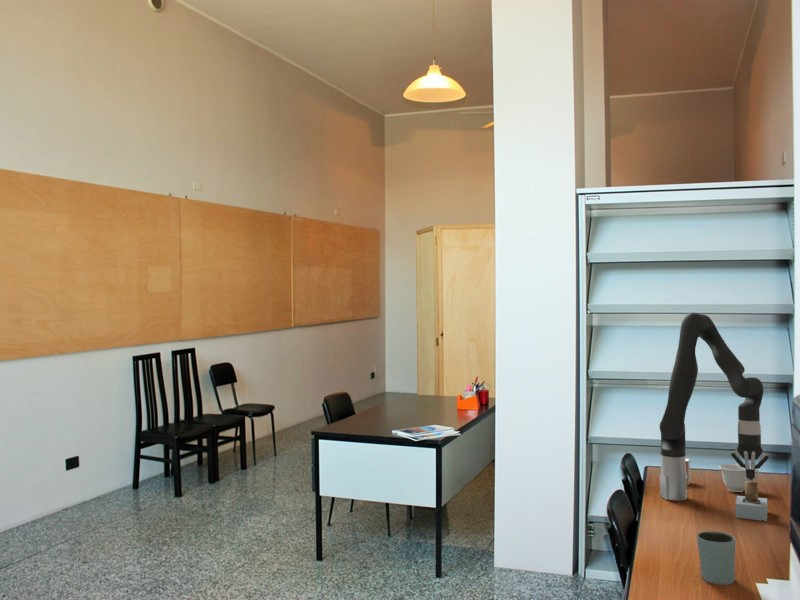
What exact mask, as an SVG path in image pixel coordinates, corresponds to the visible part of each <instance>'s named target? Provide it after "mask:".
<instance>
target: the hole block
mask: <svg viewBox="0 0 800 600" xmlns="http://www.w3.org/2000/svg"><path fill="white" fill-rule="evenodd" d="M768 506H769V505H768V497H767V498H766V497H758V504H755V503H745V495H737V496H736V499H735V518H736V519H744V520H755V521H762V520H764V521H763V522H767V521H768V515H767V514H768V513H769V512H768V511H769V510H768Z"/></svg>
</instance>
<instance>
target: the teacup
mask: <svg viewBox="0 0 800 600" xmlns="http://www.w3.org/2000/svg"><path fill="white" fill-rule="evenodd" d="M718 467H719V469H720V470H721V474H722V480H723V485H724V486H725V487H726V488H728V490H729V491H728V492H730V491H732V492H731V493H734V492H742V493H744V492H743V491H744V490H745V481H756V480H758V479H759V478H760V471H759V470H758V469H755V472H756V475H755V478H753V480H751V479H750V480H748V478H747V477H746V469H745V468H743V467H741V466H740V465H739V464H738V463H722V464H720V465H719V466H718ZM750 469H751V466H750Z"/></svg>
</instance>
